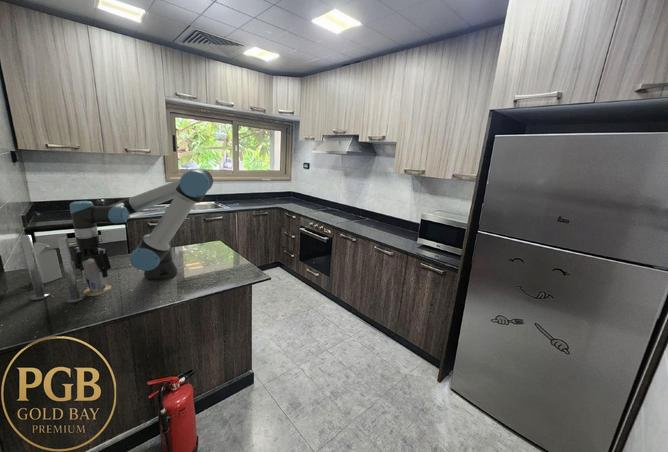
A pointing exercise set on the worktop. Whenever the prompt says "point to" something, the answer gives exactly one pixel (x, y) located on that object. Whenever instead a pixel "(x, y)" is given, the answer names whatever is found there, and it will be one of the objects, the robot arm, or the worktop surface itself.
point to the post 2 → (69, 271)
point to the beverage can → (92, 275)
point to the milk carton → (47, 262)
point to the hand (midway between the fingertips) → (96, 282)
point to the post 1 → (33, 269)
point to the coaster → (89, 293)
